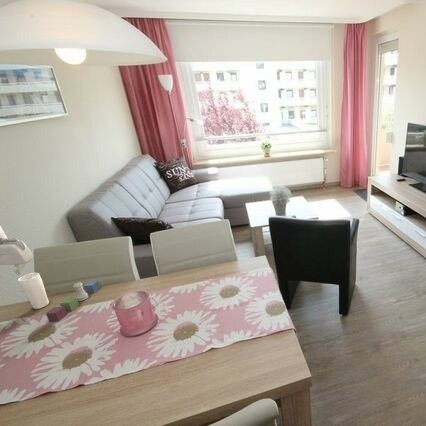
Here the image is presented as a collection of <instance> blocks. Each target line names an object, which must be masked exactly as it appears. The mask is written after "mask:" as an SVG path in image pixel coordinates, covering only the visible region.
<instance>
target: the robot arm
mask: <svg viewBox="0 0 426 426" xmlns="http://www.w3.org/2000/svg"><path fill="white" fill-rule="evenodd" d="M33 259H34V254H33V253H32V251H31V250H30V249H29V247H28V246H27V245H26V243H25V242H24V241H22V240H21V239H17V238H16V237H12V238H11V237H10V238H8V236H7V234H6V233H5V231H4V229H3V228H2V226H1V225H0V266H14V267H15V268H16V269H14V273H15V274H16V275H23V274H24V273H26V269H25V265H26V264H28V263H29V262H31V261H32V260H33Z"/></svg>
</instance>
